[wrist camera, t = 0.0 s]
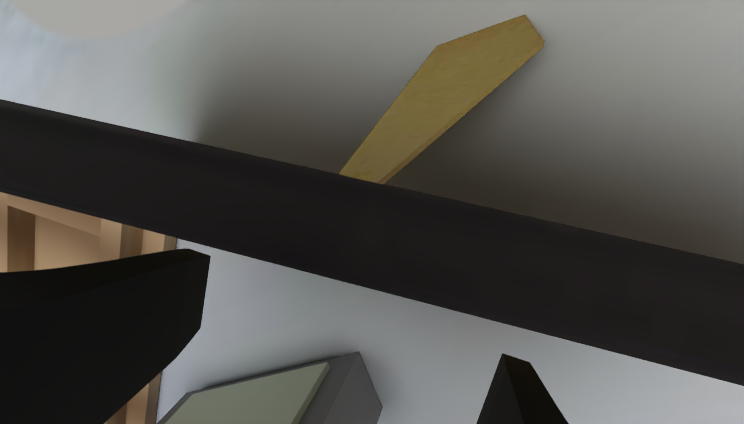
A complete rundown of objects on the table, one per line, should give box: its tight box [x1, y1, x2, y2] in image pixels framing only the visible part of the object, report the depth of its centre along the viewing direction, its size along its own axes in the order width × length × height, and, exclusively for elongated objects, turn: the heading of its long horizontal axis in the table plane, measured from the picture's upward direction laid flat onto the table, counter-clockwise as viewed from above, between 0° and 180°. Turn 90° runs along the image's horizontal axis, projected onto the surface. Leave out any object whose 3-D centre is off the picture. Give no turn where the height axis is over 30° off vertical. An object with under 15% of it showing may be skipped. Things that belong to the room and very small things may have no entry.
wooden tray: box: [0, 192, 177, 424], centre depth 27 cm, size 20×9×2 cm, turn 167°
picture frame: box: [0, 15, 744, 386], centre depth 13 cm, size 23×9×15 cm, turn 80°
